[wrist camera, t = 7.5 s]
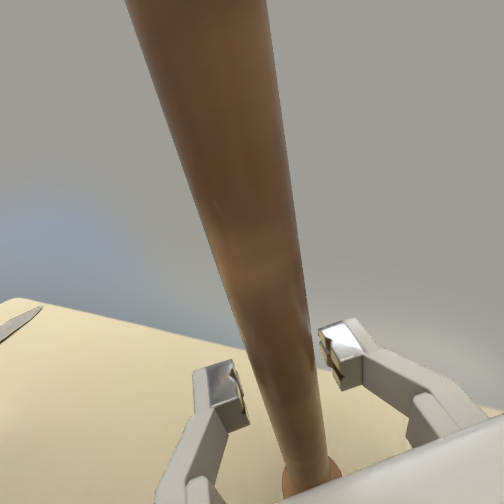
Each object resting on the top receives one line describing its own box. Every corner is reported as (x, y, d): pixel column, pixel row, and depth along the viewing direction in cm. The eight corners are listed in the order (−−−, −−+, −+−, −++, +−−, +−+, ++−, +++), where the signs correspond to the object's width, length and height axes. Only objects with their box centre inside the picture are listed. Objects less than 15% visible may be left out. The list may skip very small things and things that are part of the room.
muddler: (287, 534, 16) (-3, -30, 3) (285, 460, 19) (133, 13, 6) (351, 538, 16) (321, -153, 2) (340, 461, 18) (299, -39, 5)
